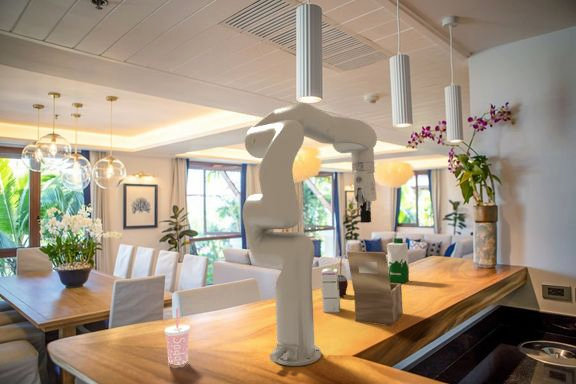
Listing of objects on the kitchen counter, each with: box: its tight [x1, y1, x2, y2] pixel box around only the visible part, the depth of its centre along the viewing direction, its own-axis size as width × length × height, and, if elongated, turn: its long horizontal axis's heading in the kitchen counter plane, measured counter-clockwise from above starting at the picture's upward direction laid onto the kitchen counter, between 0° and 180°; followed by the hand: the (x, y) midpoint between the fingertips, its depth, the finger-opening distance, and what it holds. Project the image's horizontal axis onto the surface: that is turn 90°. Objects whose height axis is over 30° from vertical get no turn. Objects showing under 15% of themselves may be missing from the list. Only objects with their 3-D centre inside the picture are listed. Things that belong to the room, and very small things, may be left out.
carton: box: [353, 283, 404, 326], centre depth 126 cm, size 14×12×10 cm
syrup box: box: [320, 268, 341, 313], centre depth 136 cm, size 6×6×14 cm
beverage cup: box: [164, 307, 191, 365], centre depth 95 cm, size 6×6×14 cm
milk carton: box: [386, 237, 410, 285], centre depth 178 cm, size 9×9×20 cm
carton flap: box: [346, 250, 391, 294], centre depth 118 cm, size 14×12×1 cm
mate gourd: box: [338, 256, 349, 298], centre depth 157 cm, size 8×8×15 cm
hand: (366, 222), depth 129 cm, fingers closed
